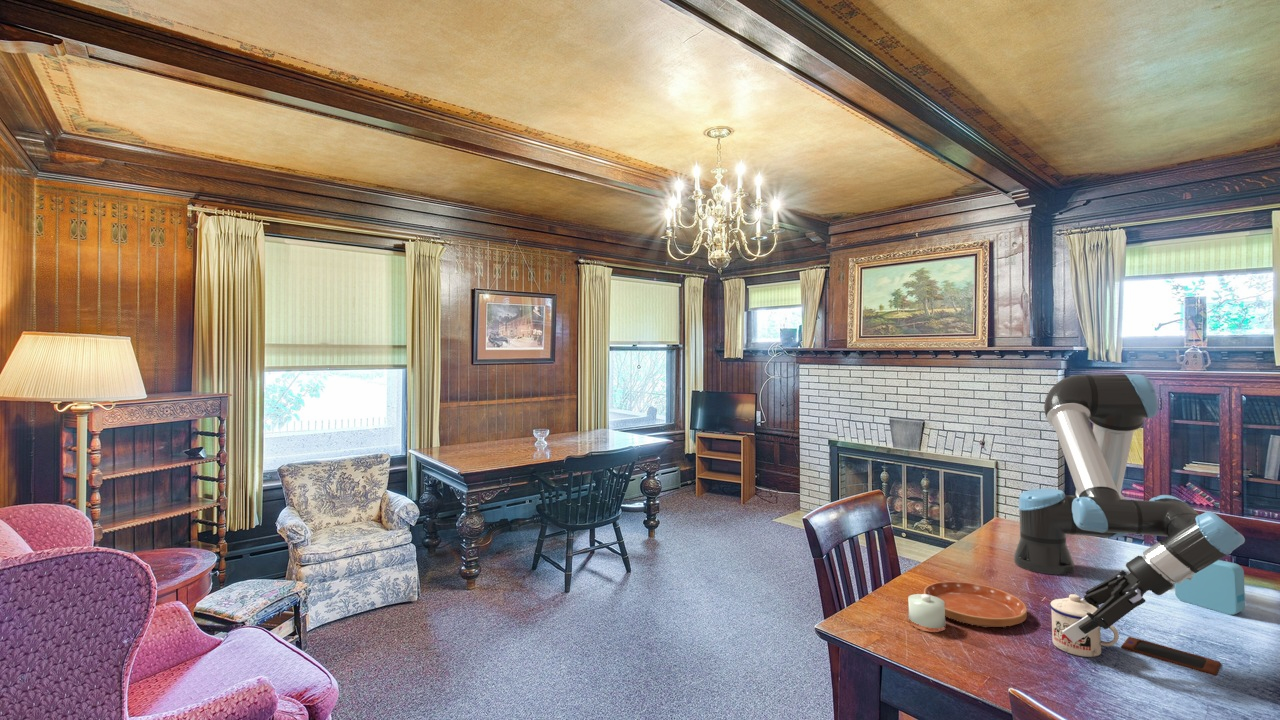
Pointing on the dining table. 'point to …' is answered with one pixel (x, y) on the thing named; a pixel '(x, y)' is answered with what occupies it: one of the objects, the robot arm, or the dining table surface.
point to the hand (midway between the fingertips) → (1065, 627)
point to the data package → (1215, 588)
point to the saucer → (978, 604)
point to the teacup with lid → (1068, 614)
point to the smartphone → (1172, 655)
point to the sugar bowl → (927, 610)
